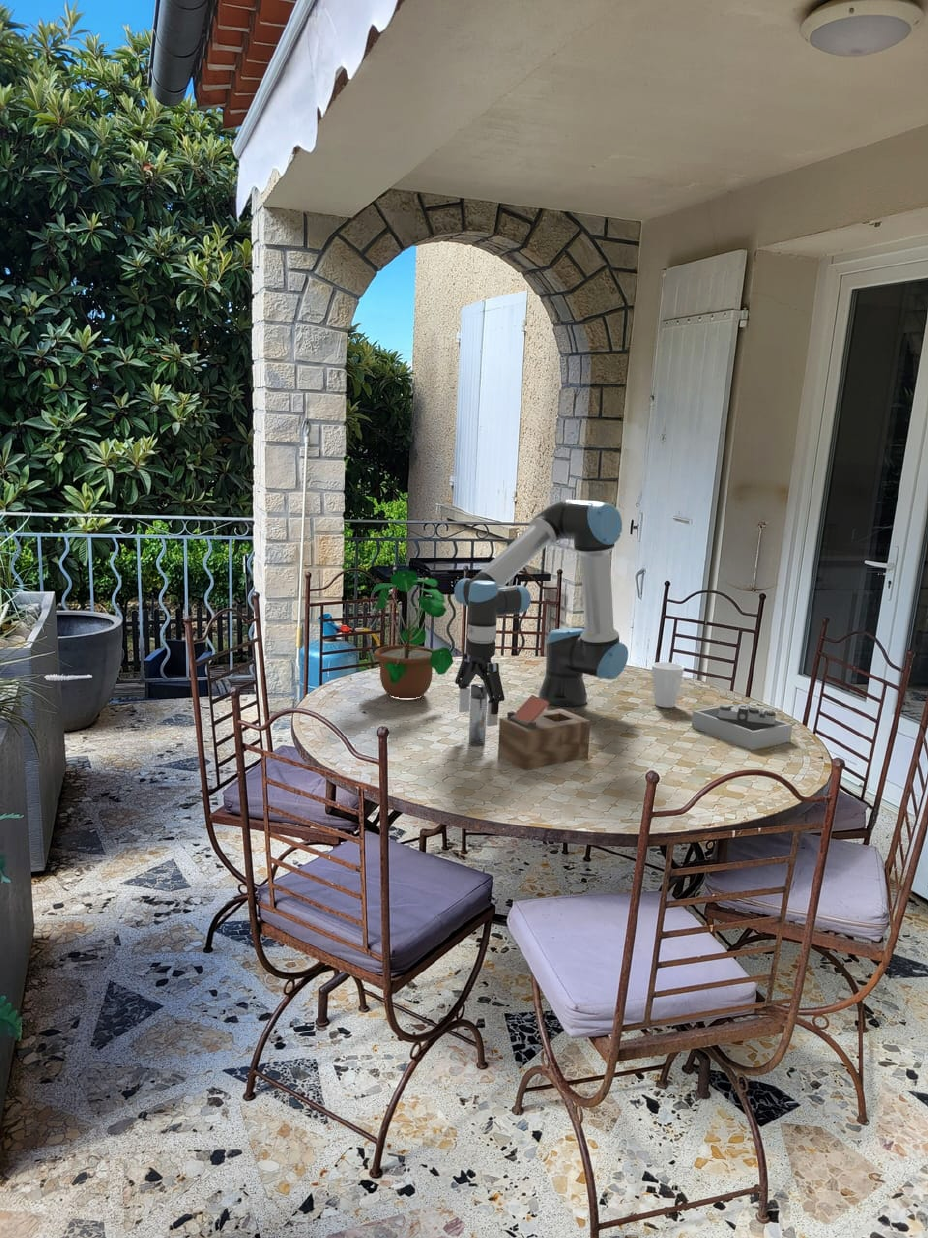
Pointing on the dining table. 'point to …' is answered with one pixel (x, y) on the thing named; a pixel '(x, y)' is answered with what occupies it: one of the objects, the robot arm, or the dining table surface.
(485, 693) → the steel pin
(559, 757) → the block
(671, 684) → the cup
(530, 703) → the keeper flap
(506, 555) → the robot arm
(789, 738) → the camera corral
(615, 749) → the dining table surface
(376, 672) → the dining table surface
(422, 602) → the potted plant
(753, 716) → the camera
